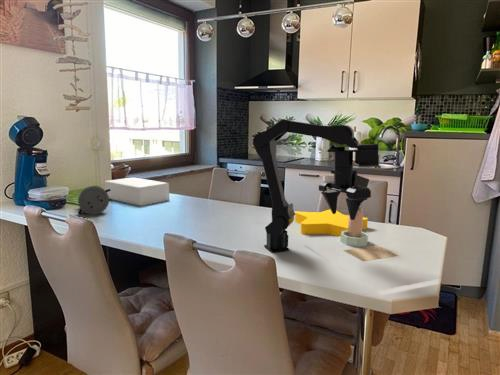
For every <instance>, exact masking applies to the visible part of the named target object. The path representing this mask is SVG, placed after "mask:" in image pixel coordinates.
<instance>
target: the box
mask: <svg viewBox="0 0 500 375" xmlns="http://www.w3.org/2000/svg"><path fill="white" fill-rule="evenodd" d="M104 188H105V189H104V190H107V189H110V190H111V191H109V192H107V194H108V196H109V198H110V199H109V200H113V201H117V202H122V203H127V204H132V205H134V204H135V205H134V206H139V205H140V207H143V206H147V204H148V205H151V204H152V203H153V204H156V203H157V202H158V203H162V202H166V200H167V201H170V183H169V182H165V181H164V182H163V181H158V180H151V179H145V178H139V177H127V178H117V179H110V180H105V181H104ZM153 204H152V205H153ZM142 205H143V206H142Z"/></svg>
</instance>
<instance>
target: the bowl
mask: <svg viewBox="0 0 500 375" xmlns="http://www.w3.org/2000/svg"><path fill="white" fill-rule="evenodd" d="M347 233H348V231H342V233H341V236H340V240H339V241H340V242H341V243H342V244H345V245H347V246H351V247H357V248H360V247H367V246H368V243H369V234H368V233H366V232H364V231H362V236H361V237H360V238H356V237H349V236H347Z"/></svg>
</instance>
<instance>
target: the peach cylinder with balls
mask: <svg viewBox="0 0 500 375" xmlns="http://www.w3.org/2000/svg"><path fill="white" fill-rule="evenodd" d="M363 217H364V209H363V208H361V207H359V209H358V211H357V214H356V217H355V219H354V220H351V219H350V216H349V219H348V233H347V236H349V237H356V238H360V237H361V236H362V232H363V229H362V223H363Z"/></svg>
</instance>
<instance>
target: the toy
mask: <svg viewBox="0 0 500 375" xmlns="http://www.w3.org/2000/svg"><path fill="white" fill-rule="evenodd" d="M109 191H111V190H110V189H107V190H105V189H104V188H102V187H100V186H95V185H94V186H87V187H86V188H84V189H83V190H81V192H80V193H79V195H78V199H77V203H78V206H79V208H80V209H79V210H78V212H77V214H78V215H81V214H82V212H83V213H86V214H87V215H99V214H101V213H103V212H104V211H105V210H106V209H107V208H108V206H109V205H110V204H109V202H110V199H109V196H108V194H107V192H109Z"/></svg>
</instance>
